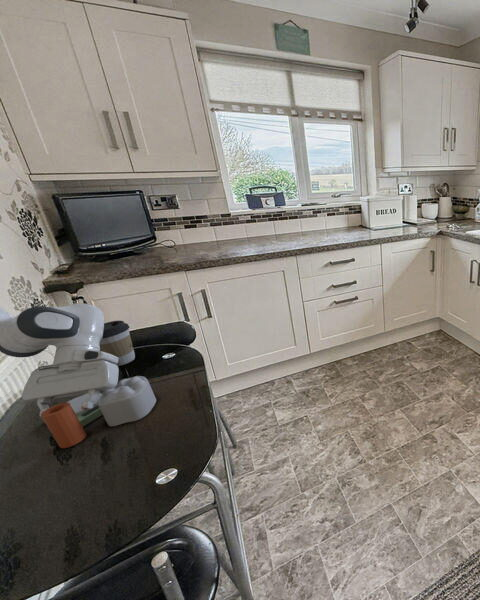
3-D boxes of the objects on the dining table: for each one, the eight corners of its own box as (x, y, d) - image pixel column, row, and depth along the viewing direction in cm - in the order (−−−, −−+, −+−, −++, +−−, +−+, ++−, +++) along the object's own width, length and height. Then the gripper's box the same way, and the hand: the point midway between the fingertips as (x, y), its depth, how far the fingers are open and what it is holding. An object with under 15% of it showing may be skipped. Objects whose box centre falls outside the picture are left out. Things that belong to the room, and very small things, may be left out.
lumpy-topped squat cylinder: (102, 429, 88) (88, 402, 85) (123, 400, 100) (112, 376, 96) (146, 417, 91) (135, 392, 88) (162, 391, 102) (152, 367, 99)
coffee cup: (145, 358, 124) (130, 323, 119) (107, 373, 116) (89, 335, 111) (138, 350, 131) (123, 316, 126) (102, 363, 124) (85, 328, 118)
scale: (44, 423, 92) (40, 415, 91) (92, 396, 103) (88, 389, 102) (77, 430, 88) (73, 422, 87) (123, 401, 99) (119, 394, 98)
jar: (54, 446, 83) (35, 415, 80) (78, 431, 88) (61, 401, 84) (68, 449, 82) (49, 417, 78) (91, 434, 86) (74, 403, 83)
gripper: (21, 364, 85) (6, 420, 79) (109, 351, 88) (100, 403, 83) (43, 370, 91) (31, 422, 85) (125, 357, 94) (118, 406, 88)
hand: (66, 412), depth 84 cm, fingers open, 8 cm apart
